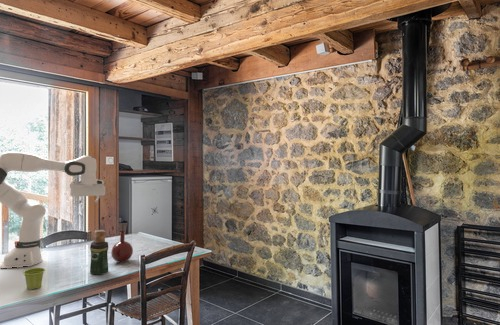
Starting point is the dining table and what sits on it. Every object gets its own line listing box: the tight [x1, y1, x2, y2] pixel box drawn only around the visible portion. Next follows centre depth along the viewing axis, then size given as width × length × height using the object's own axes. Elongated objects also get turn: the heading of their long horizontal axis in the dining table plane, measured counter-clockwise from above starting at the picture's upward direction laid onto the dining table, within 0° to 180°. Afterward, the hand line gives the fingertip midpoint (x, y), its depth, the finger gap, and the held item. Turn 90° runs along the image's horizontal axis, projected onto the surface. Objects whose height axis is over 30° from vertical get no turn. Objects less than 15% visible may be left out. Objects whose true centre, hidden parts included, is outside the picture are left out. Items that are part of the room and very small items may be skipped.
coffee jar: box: [89, 241, 109, 276], centre depth 193 cm, size 10×8×19 cm
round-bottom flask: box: [110, 230, 134, 263], centre depth 214 cm, size 13×13×20 cm
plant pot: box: [22, 267, 46, 290], centre depth 171 cm, size 9×9×9 cm
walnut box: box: [93, 229, 106, 243], centre depth 193 cm, size 5×5×6 cm
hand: (87, 203), depth 209 cm, fingers open, 8 cm apart
